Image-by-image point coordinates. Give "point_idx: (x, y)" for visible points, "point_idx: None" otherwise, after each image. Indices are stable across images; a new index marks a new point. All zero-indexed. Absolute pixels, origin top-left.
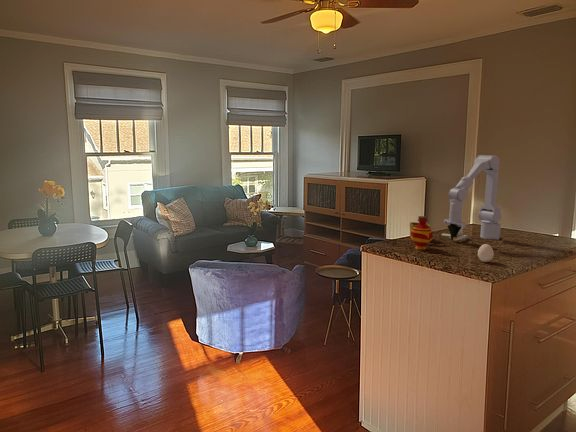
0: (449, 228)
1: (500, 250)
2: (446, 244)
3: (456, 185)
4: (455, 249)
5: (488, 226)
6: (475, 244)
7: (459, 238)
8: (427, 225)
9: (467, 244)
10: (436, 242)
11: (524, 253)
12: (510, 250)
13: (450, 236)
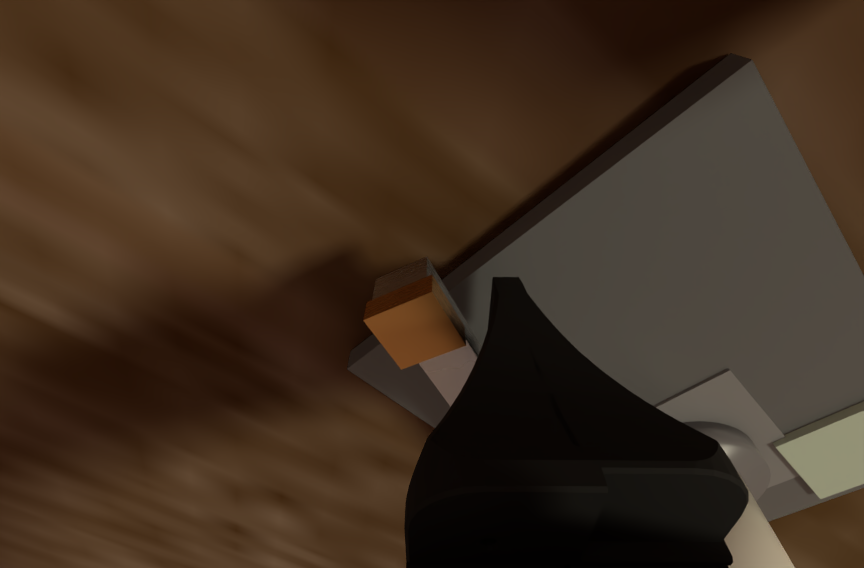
0: (609, 417)
1: (101, 489)
2: (484, 127)
3: None
4: (51, 9)
5: None
6: (383, 457)
7: (441, 383)
8: None
9: None
10: (707, 39)
11: (13, 555)
12: (115, 539)
13: (775, 435)
